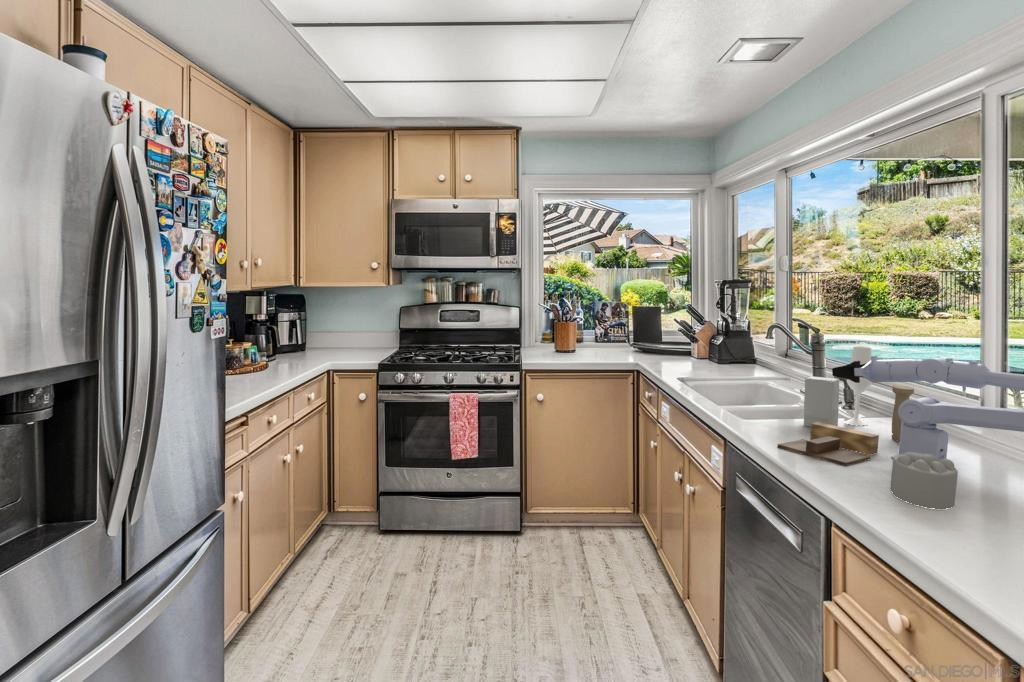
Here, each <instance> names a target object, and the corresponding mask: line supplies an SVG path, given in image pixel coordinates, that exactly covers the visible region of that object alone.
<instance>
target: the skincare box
mask: <svg viewBox="0 0 1024 682" xmlns="http://www.w3.org/2000/svg"><path fill="white" fill-rule="evenodd" d="M803 397H804V399H803V400H804V402H803V404H804V405H803V426H804V425H805V427H811V423H816V422H821V423H825V424H830V425H834V426H839V405H840V404H839V402H840V400H839V398H840V378H835V377H823V376H813V375H811V376H808V377H806V378H804V396H803Z"/></svg>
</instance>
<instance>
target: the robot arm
mask: <svg viewBox="0 0 1024 682" xmlns="http://www.w3.org/2000/svg"><path fill="white" fill-rule="evenodd" d="M831 372H832V377H834V378H835V377H836V378H839V379H840V378H842V379H846V380H847V379H849V380H851V381H853V382H855V383H860V377H863V378H866V379H868V380H869V381H871V382H872V383H873V384H879V383H916V382H926V383H929V384H931V385H933V384H938V383H940V382H943V383H945V384H947V385H952V386H957V387H965V388H969V389H977V390H980V389H982V388H984V387H986V386H987V385H988V386H992V387H993V386H995V387H998V388H999V387H1000V388H1004V389H1008V390H1009V389H1010V390H1015V391H1016V390H1017V391H1021V392H1024V374H1023V373H1022V374H1021V373H1011V372H1003V371H995V370H994V371H993V370H990V369H989V368H988V367H987V366H986V365H985V364H983V363H979V361H978V360H972V359H971V360H969V362H968V361H961V360H960V361H959V360H954V359H953V357H947V358H943V357H940V356H937V357H933V358H927V359H923V358H918V359H916V358H915V359H914V358H903V359H902V358H901V359H900V358H899V359H897V358H896V359H895V358H894V359H878V356H877V355H871V360H870V361H869V362H868V363H865V364H862V365H860V361H854V362H852V363H850V362H849V363H848V364H845V365H842V366H836V367H833V368H831ZM898 415H899V417H900V419H901V420H902V423H901V433H900V441H899V444H898V453H897V454H893V455H891V456H890V458H891V459H893V457H894V456H895V455H902V454H904V453H907V452H915V453H920V454H932V455H934V456H936V457H937V458H938V459H940V460H943V459H947V455H948V445H949V434H948V432H947V431H946V430H943V429H939V428H938V427H937V426H938V424H941V425H942V424H943V425H944V424H947V425H956V426H957V425H958V426H966V427H976V428H985V429H993V430H1004V431H1013V432H1021V433H1024V409H1017V408H1006V407H1005V408H1004V407H995V406H983V405H972V404H961V403H960V404H959V403H951V402H948V401H941V400H938V399H936V398H935V397H932V396H921V397H919V398H913V399H909V400H906V401H904V402H902V403H901V404H900V406H899V408H898Z"/></svg>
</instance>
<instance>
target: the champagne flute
mask: <svg viewBox="0 0 1024 682" xmlns="http://www.w3.org/2000/svg"><path fill="white" fill-rule="evenodd" d="M871 356H872V347H871V346H866V345H853V346H852V353H851V356H850V357H851V358H850V362H849V364H850V363H852V362H854V361H860V365H862V364H865V363H868V362H869V361H870V360H871ZM846 383H847V385H848V386H849V388H850V389H851V390H852V391H853V392H855V400H854V401H855V402H854V404H855V405H854V414H853V415H854V416H853V417H852V418H850V419H847V420H845V421H843V423H844V424H845V423H846V424H845V425H848V424H850V425H849V426H853V425H865V424H867V423H866V422H864V421H863V420H862V419H861V418H859V416H860V415H859V414H860V403H861V402H860V401H861V394H862V393H863V392H865V391H867V390H868V389H869V388H871V386H872V385H873V384H872V382H871V381H869V380H868V379H866V378H863V377H860V383H855V382H853V381H851V380H849V379H846Z"/></svg>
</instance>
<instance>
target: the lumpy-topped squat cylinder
mask: <svg viewBox="0 0 1024 682" xmlns="http://www.w3.org/2000/svg"><path fill="white" fill-rule="evenodd" d="M894 455H895V456H894V457H893V458H892V467H891V476H890V477H891V478H890V487H889V488H890V489H891V490H890V492H891V491H892V492H893V494H894V495H895V496H896V497H898V498H900V499H902V500H904V501H907V502H909V503H912V504H915V505H919V506H923V507H927V508H935V509H946V508H951V507H952V508H953V506H955V502H956V494H957V484H958V483H957V482H958V476H959V475H958V472H959V471H958V470H957V468H956V467H955V463H954V462H953V461H952V460H950V459H948V458H946V459H943V460H940V459H938V458H937V457H936V456H934V455H932V454H920V453H915V452H907V453H904V454H902V455H897V454H894ZM892 492H891V493H892ZM893 494H892V495H893ZM894 495H893V496H894ZM895 496H894V497H895ZM896 497H895V498H896ZM898 498H897V499H898ZM900 499H899V500H900ZM902 500H901V501H902ZM904 501H903V502H904ZM909 503H908V504H909ZM952 508H951V509H952Z"/></svg>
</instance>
